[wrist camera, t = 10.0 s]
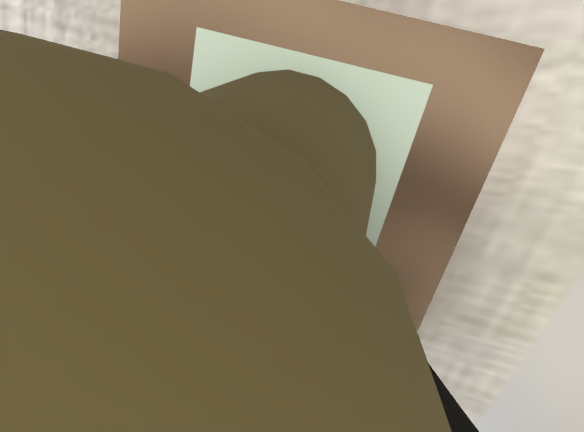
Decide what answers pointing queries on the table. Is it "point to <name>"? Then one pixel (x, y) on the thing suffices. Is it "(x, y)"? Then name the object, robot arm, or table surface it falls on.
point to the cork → (193, 256)
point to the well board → (364, 101)
